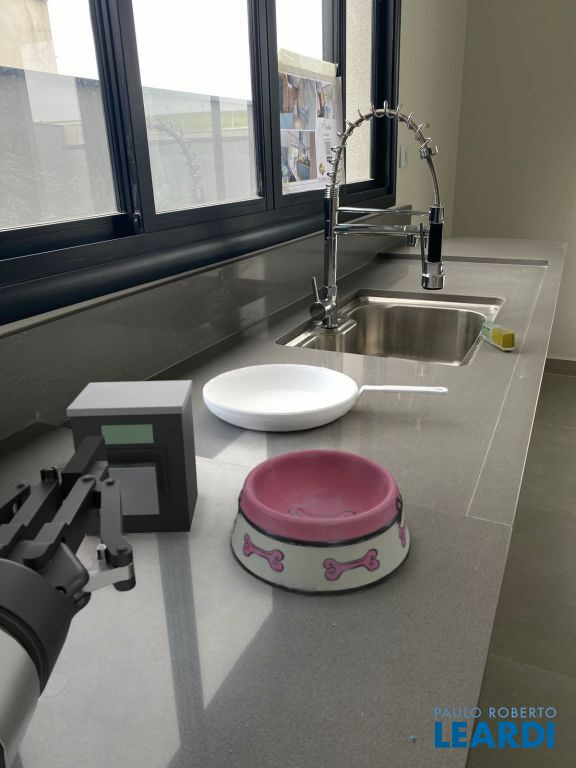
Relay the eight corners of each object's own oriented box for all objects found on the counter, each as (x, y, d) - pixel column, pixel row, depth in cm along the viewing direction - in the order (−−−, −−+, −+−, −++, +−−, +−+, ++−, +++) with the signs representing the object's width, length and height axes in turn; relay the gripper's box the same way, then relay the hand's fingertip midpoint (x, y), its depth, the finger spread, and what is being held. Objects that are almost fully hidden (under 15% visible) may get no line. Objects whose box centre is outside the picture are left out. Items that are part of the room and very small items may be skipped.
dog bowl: (412, 606, 53) (417, 538, 50) (207, 585, 56) (203, 520, 53) (409, 501, 70) (412, 447, 68) (252, 490, 73) (250, 438, 71)
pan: (224, 382, 112) (223, 360, 111) (439, 389, 107) (440, 366, 106) (183, 435, 89) (181, 408, 87) (455, 448, 83) (458, 419, 82)
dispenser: (191, 533, 64) (182, 406, 59) (83, 537, 64) (65, 409, 59) (200, 494, 72) (192, 379, 68) (103, 497, 72) (89, 382, 67)
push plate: (159, 514, 60) (155, 467, 59) (98, 516, 60) (92, 469, 59) (161, 508, 62) (157, 461, 60) (101, 510, 61) (96, 463, 60)
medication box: (481, 339, 140) (480, 322, 139) (492, 337, 141) (492, 321, 139) (503, 351, 129) (503, 333, 128) (515, 350, 129) (515, 331, 128)
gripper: (-166, 740, 28) (23, 493, 51) (113, 729, 29) (179, 489, 51) (-209, 608, 26) (9, 410, 48) (96, 599, 26) (173, 407, 49)
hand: (96, 451), depth 50 cm, fingers closed
